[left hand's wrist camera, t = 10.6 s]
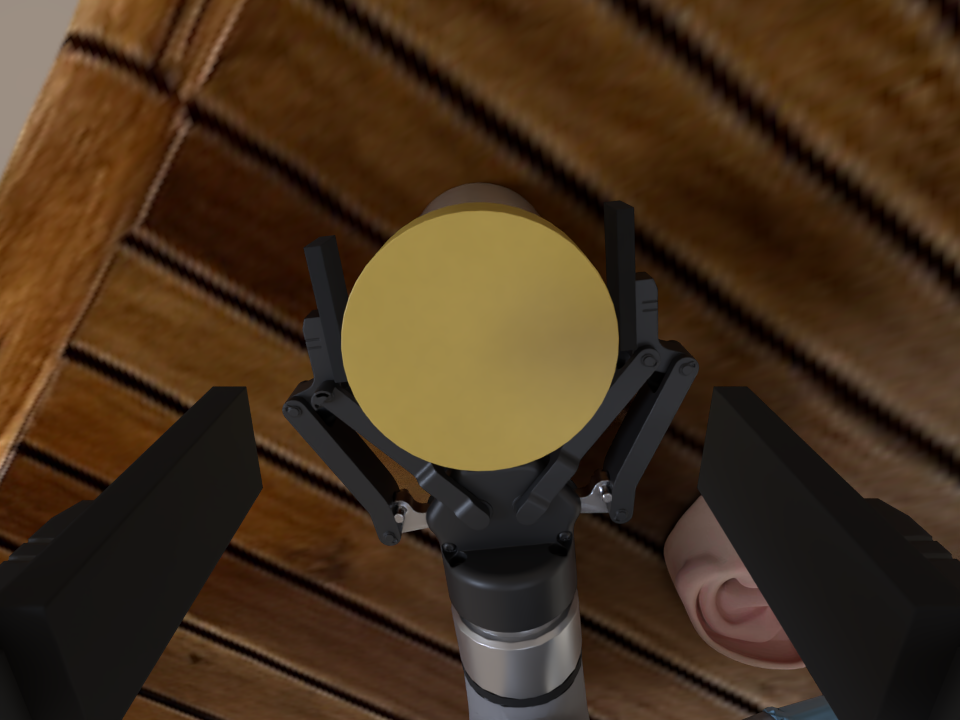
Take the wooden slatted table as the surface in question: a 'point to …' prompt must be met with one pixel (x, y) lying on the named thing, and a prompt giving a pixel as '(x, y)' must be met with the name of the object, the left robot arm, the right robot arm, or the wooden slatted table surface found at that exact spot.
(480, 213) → the lid
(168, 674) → the wooden slatted table surface
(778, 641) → the anatomical model
